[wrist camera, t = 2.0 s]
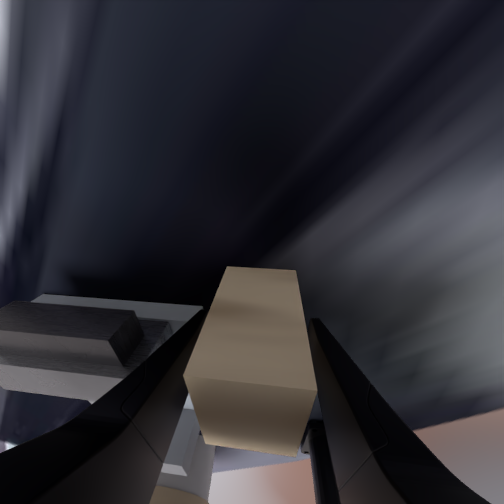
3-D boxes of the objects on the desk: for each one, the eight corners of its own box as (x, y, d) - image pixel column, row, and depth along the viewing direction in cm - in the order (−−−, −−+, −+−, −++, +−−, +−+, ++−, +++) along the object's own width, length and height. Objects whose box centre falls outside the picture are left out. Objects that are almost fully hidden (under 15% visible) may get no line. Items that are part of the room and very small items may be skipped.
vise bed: (221, 411, 18) (207, 481, 14) (117, 398, 19) (77, 460, 15) (202, 306, 11) (167, 385, 8) (43, 294, 12) (-60, 358, 9)
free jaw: (177, 349, 12) (149, 408, 9) (61, 338, 12) (4, 389, 10) (161, 297, 10) (118, 353, 7) (23, 287, 10) (-63, 334, 8)
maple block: (287, 334, 12) (295, 457, 7) (232, 329, 12) (205, 443, 8) (295, 269, 10) (317, 390, 5) (227, 266, 10) (183, 375, 5)
